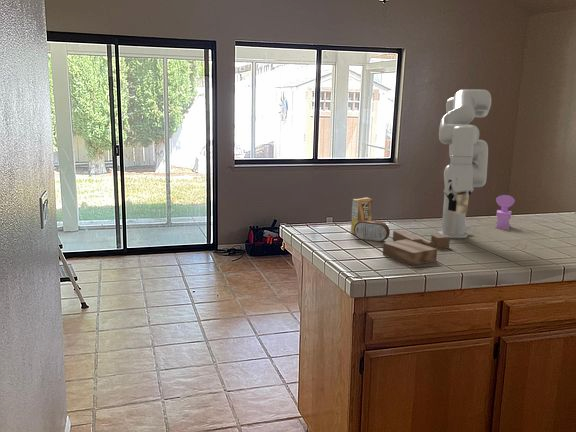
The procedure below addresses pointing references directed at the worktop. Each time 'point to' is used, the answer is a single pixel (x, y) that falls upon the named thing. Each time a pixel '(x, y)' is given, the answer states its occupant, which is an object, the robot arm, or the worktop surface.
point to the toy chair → (504, 211)
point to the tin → (371, 230)
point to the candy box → (361, 211)
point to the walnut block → (409, 251)
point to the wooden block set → (423, 239)
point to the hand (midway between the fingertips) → (457, 209)
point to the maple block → (460, 203)
